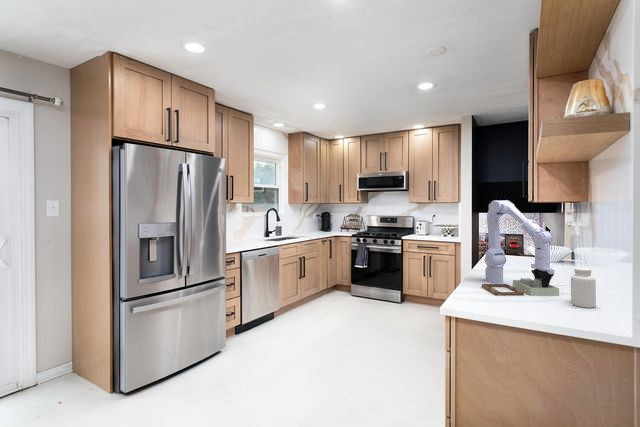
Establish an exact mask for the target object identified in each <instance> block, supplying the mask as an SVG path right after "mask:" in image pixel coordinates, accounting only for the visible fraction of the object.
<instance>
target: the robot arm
mask: <svg viewBox="0 0 640 427" xmlns="http://www.w3.org/2000/svg"><path fill="white" fill-rule="evenodd" d="M505 214H506V215H509V216H511V217H512V218H513V219H514V220H516V221H517V222H518V223H519V224H521V228H522V230H523V231H525V233H527V234H528V236H530V237H531V241H532V242H533V244H534V245H533V246H534V263H531V265H530V266H531V270H530V271H531V273H532V275H533V277H534V279H541V281H542V287H543V288H548V286H549V284H550V282H551V280H552V278H553V277H554V276H555V269H553V268H552V267H551V266H550V263H551V262H550V259H551V256H550V254H551V249H550V248H551V244H550V243H551V242H552V241H553V234H552V232H550V231H549V230H544V228H543V227H541V226H540V225H538V224H537V221H536V220H533V219H528V218H527V217H526V216H525V215H524V214H523V213H522V212H521V211H520V210H519V209H518V208H517V207H516V206H515V204H514V203H513V202H511V201H510V200H508V199H506V200H501V199H500V200H497V199H496V200H492V201H491V202H490V203H489V204H488V211H487V214H486V222H487V223H486V224H487V238H488V249H487V250H486V252H485V257H484V262H485V263H484V264H486V267H485V270H484V271H485V273H484V276H485V279H483V281H485V282H486V283H487V284H507V283H506V282H504V267H505V264H506V263H507V256H506V255H505V251H504V249H503V248H502V247H501V245H502V244H501V234H500V233H501V232H500V218H501V217H502V216H503V215H505Z"/></svg>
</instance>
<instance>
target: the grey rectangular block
mask: <svg viewBox="0 0 640 427" xmlns="http://www.w3.org/2000/svg"><path fill="white" fill-rule="evenodd" d="M519 280H520V283H522V284H524V285H526V286H529V287H531V288H534V279H531V278H527V277H525V278H523V277H522V278H521V277H520V279H519Z"/></svg>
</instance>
